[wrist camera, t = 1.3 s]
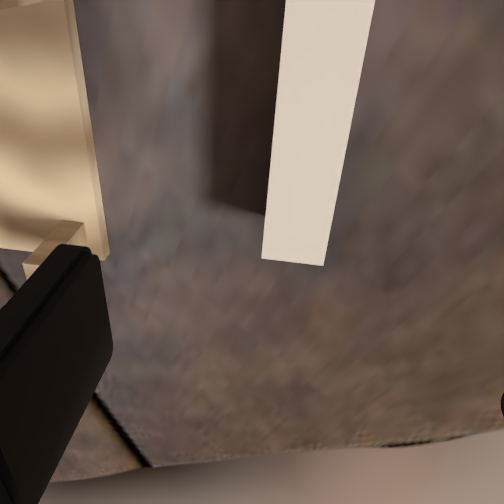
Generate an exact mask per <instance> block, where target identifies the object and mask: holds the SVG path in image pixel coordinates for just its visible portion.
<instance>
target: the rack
mask: <svg viewBox="0 0 504 504" xmlns="http://www.w3.org/2000/svg"><path fill="white" fill-rule="evenodd" d="M59 244H70V245H78V246H87V247H89V248H90V250H91V252H92V254H96V255H97V256H98V257H99V260H103V261H104V260H105V259H106V257H107V256H108V255H109V253H110V251H109V245H108V238H107V231H106V224H105V217H104V210H103V203H102V196H101V189H100V183H99V176H98V169H97V162H96V155H95V148H94V141H93V134H92V127H91V121H90V114H89V107H88V100H87V93H86V86H85V79H84V72H83V65H82V59H81V52H80V45H79V38H78V31H77V24H76V17H75V10H74V3H73V0H0V248H6V249H14V250H22V251H30V252H32V254H31V255H30V256H29V257H28V258H27V259H26V260H25V261H24V262H23V263H22V264H23V267H24V271H25V274H26V278H27V279H28V278H29V277H30V276H31V275H32V274H33V273H34V271H35V270H36V269H37V268H38V267H39V266H40V265H41V263H42V262H43V261H44V260H45V259H46V258H47V257H48V255H49V254H50V253H51V252H52V251H53V250H54V249H55V247H56V246H58V245H59Z"/></svg>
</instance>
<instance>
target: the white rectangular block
mask: <svg viewBox="0 0 504 504" xmlns="http://www.w3.org/2000/svg"><path fill="white" fill-rule="evenodd" d="M374 3H375V0H286V4H285V15H284V26H283V36H282V47H281V57H280V68H279V78H278V89H277V99H276V110H275V121H274V131H273V142H272V152H271V163H270V173H269V184H268V194H267V205H266V216H265V226H264V237H263V247H262V258H263V259H271V260H279V261H288V262H296V263H304V264H312V265H321V266H323V265H324V260H325V254H326V249H327V244H328V239H329V234H330V229H331V224H332V219H333V213H334V208H335V203H336V198H337V193H338V188H339V183H340V178H341V172H342V167H343V162H344V157H345V152H346V147H347V142H348V136H349V131H350V126H351V121H352V116H353V111H354V106H355V101H356V95H357V90H358V85H359V80H360V75H361V70H362V65H363V60H364V54H365V49H366V44H367V39H368V34H369V29H370V24H371V19H372V13H373V8H374Z"/></svg>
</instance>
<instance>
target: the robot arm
mask: <svg viewBox="0 0 504 504" xmlns="http://www.w3.org/2000/svg"><path fill="white" fill-rule="evenodd" d="M112 352H113V340H112V334H111V328H110V321H109V315H108V309H107V303H106V297H105V291H104V285H103V278H102V272H101V266H100V260H99V257H98V256H97V255H96V254H92V252H91V250H90V248H89V247H87V246H78V245H70V244H59V245H58V246H56V247H55V249H54V250H53V251H52V252H51V253H50V254H49V255H48V257H47V258H46V259H45V260H44V261H43V262H42V263H41V265H40V266H39V267H38V268H37V269H36V270H35V271H34V273H33V274H32V275H31V276H30V277H29V278H28V279H27V281H26V282H25V283H24V284H23V285H22V286H21V287H20V289H19V290H18V291H17V292H16V293H15V294H14V295H13V297H12V298H11V299H10V300H9V301H8V302H7V303H6V305H4V306H3V307H2V308H1V309H0V504H38V503H39V501H40V499H41V497H42V495H43V493H44V491H45V489H46V487H47V485H48V483H49V481H50V479H51V477H52V475H53V473H54V471H55V469H56V467H57V465H58V463H59V461H60V459H61V457H62V455H63V453H64V451H65V449H66V447H67V445H68V443H69V441H70V439H71V437H72V435H73V433H74V431H75V429H76V427H77V425H78V423H79V421H80V419H81V417H82V415H83V413H84V411H85V409H86V407H87V405H88V403H89V401H90V399H91V397H92V395H93V393H94V391H95V389H96V387H97V385H98V383H99V381H100V379H101V377H102V375H103V373H104V371H105V369H106V367H107V365H108V363H109V361H110V359H111V356H112ZM501 410H502V414H503V416H504V393H503V395H502V398H501Z"/></svg>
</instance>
